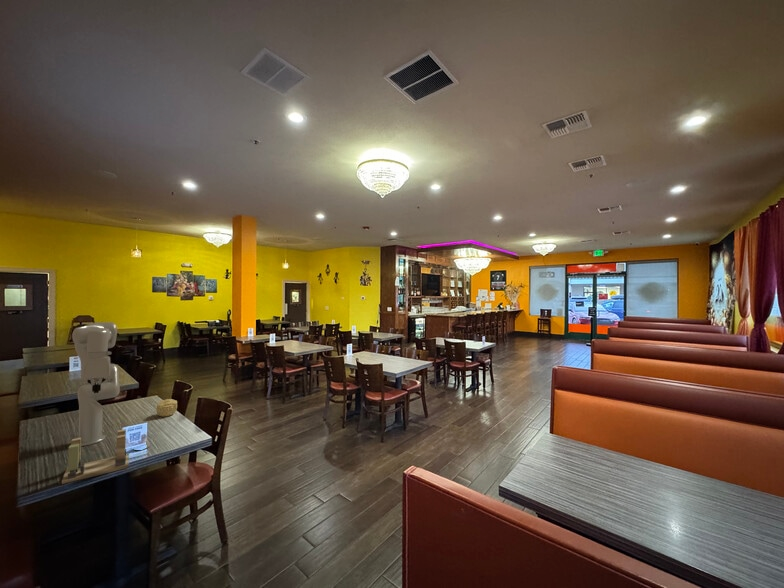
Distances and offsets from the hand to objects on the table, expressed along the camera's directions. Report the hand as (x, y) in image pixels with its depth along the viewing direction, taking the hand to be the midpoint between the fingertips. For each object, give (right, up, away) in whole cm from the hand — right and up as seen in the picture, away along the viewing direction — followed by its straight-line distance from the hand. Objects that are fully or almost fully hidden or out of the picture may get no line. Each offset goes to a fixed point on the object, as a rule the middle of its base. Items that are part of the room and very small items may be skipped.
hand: (96, 392), depth 157 cm
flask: (+12, -34, +13) cm, 38 cm away
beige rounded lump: (-8, -34, +61) cm, 70 cm away
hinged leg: (+4, -31, -16) cm, 35 cm away
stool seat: (+8, -33, -8) cm, 35 cm away
